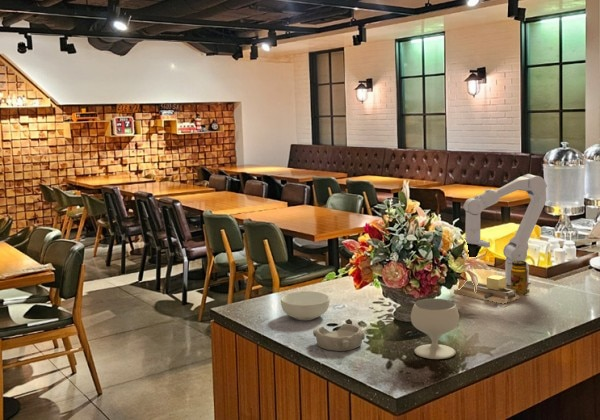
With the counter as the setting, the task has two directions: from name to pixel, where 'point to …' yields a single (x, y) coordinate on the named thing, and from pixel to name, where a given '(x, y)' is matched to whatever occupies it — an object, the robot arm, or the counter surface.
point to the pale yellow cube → (496, 282)
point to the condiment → (519, 277)
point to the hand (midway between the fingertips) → (472, 262)
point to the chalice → (435, 325)
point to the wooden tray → (487, 293)
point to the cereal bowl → (305, 304)
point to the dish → (339, 338)
